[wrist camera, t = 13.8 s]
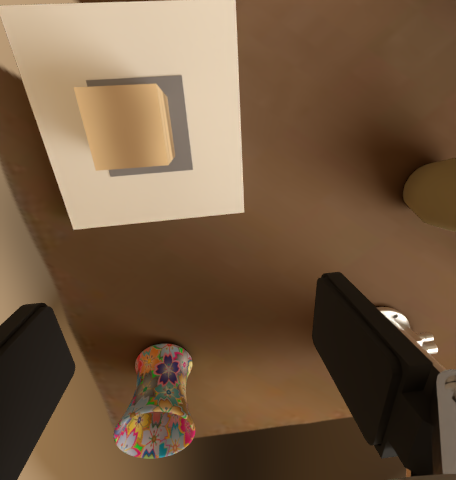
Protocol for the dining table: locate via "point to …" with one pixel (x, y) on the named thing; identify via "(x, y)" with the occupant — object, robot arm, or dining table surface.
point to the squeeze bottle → (433, 193)
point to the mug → (158, 405)
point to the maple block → (126, 125)
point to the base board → (131, 73)
